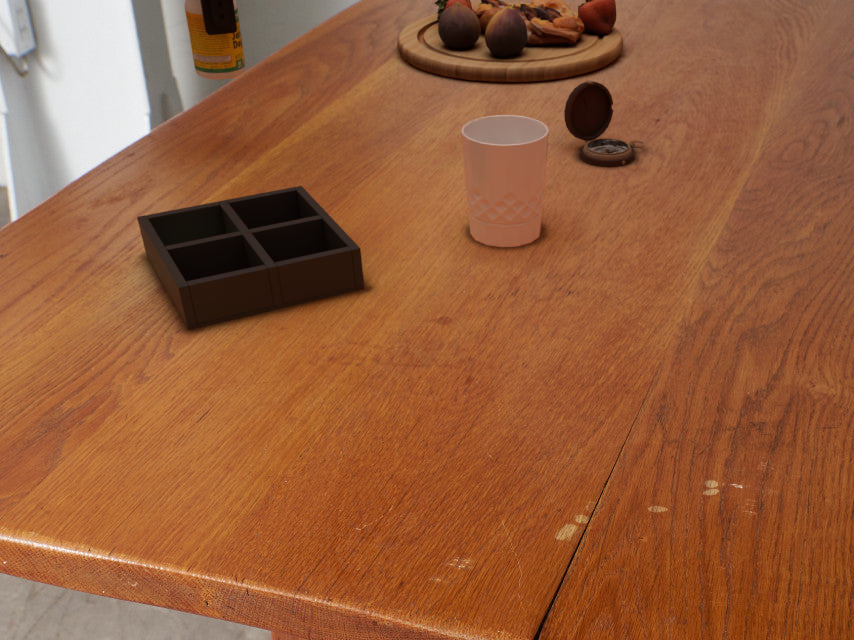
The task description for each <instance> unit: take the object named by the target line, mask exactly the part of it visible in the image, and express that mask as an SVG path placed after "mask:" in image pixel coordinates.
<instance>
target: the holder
mask: <svg viewBox="0 0 854 640" xmlns="http://www.w3.org/2000/svg"><path fill="white" fill-rule="evenodd" d="M136 219H137V223H138V228H139V231H140V235H141V239H142V242H143V247H144V251H145V255H146V258H147V260H148V262H149V264H150V265H151V267H152V269H153V270H154V272H155V274H156V276H157V277H158V279H159V281H160V283H161V285H162V286H163V289H165V290H164V291H166V293H167V295H168V297H169V299H170V301H171V302H172V304H173V306H174V308H175V310H176V311H177V313H178V315H179V317H180V319H181V320H182V322H183V324H184V325H185V327H186V329H187V331H192V330H197V329H201V328H204V327H208V326H209V327H210V326H214V325H217V324H223V323H226V322H230V321H234V320H240V319H243V318H248V317H251V316H255V315H256V316H257V315H260V314H261V315H262V314H264V313H269V312H274V311H277V310H278V311H279V310H281V309H286V308H290V307H296V306H298V305H304V304H307V303H312V302H315V301H316V302H317V301H321V300H324V299H328V298H333V297H337V296H341V295H346V294H351V293H355V292H359V291H363V290H365V281H364V279H365V278H364V270H363V261H362V250H361V247H360V246H359V244H357V243H356V241H354V240H353V239H352V238H351V236H349V234H348V233H347V232H346V231H345V230H344V229H343V228H342V227H341V226H340V225H339V224H338V223H337V221H336V220H334V218H333V217H332V216H330V214H329V213H328V212H327V211H326V210H325V209H324V208H323V207H322V206H321V204H319V202H317V201H316V199H315V198H314V197H312V195H311V194H310V193H309V192H308V191H307V190H306V189H305V188H304V186H303V185H299V186H292V187H288V188H281V189H276V190H271V191H265V192H260V193H256V194H255V193H254V194H250V195H245V196H239V197H234V198H228V199H224V200H218V201H213V202H207V203H204V204H198V205H192V206H186V207H182V208H177V209H172V210H171V209H170V210H165V211H161V212H155V213H150V214H143V215H139V216H137V217H136Z"/></svg>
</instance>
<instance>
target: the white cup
mask: <svg viewBox="0 0 854 640" xmlns="http://www.w3.org/2000/svg"><path fill="white" fill-rule="evenodd" d="M460 132H461V134H460V135H461V145H462V146H461V147H462V160H463V173H464V185H465V186H464V187H465V189H466V190H465V191H466V193H465V195H466V203H467V204H466V205H467V208H468V221H469V233H470V235H471V236H472V238H473V239H474V241H476V242H479V243H481V244H484V245H486V246H489V247H490V246H491V247H497V248H498V247H499V248H511V247H520V246H525V245H527V244H528V245H529V244H530V243H531V244H532V243H533V242H534V241H535V240H537V239H538V238H540V234H541V227H542V214H543V213H542V212H543V211H542V210H543V209H544V200H545V199H544V198H545V193H546V179H547V165H548V149H549V148H548V147H549V135H550V134H549V133H550V129H549V127H548V125H547V124H546V123H545V122H542V121H541V120H538V119H536V118H533V117H529V116H524V115H516V114H495V115H487V116H481V117H478V118H474V119H472V120H469V121H468V122H466V123H464V124H463V126H462V127H461V129H460Z"/></svg>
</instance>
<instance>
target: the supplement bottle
mask: <svg viewBox="0 0 854 640" xmlns="http://www.w3.org/2000/svg"><path fill="white" fill-rule="evenodd" d="M233 3H234V10H235V17H236V24H237V31H236V32H235V33H228V34H219V35H208V34H207V33H206V31H205V26H204V20H203V14H202V7H201V1H200V0H185V2H184V12H185V17H186V24H187V29H188V34H189V42H190V48H191V53H192V59H193V65H194V71H195V73H196V74H197V75H198V76H199V77H202V78H205V79H207V80H228V79H234V78H238V77H240V76H241V75H244V73H245V72H246V61H245V60H246V59H245V53H244V45H243V40H242V39H243V38H242V33H241V23H240V16H239V10H238V4H237V1H236V0H233Z"/></svg>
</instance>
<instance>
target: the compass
mask: <svg viewBox="0 0 854 640" xmlns="http://www.w3.org/2000/svg"><path fill="white" fill-rule="evenodd" d="M613 105H614V100H613V97H612V93H611V92H610V90H609V88H608V87H606V86H605V84H602V83H600V82H597V81H594V80H593V81H591V80H586V81H584V82H582V83H579V84H578V85H577V86H576V87H574V88H573V90H572V91H571V92H570V93H569V95H568V97H567V100H566V103H565V105H564V111H563V113H564V117H563V118H564V123H565V126H566V129H567V130H568V132H569V133H570V134H571V135H572V136H573V137H574V138H575V139H576V138H577V139H579V140H582V141H584V142H585V144H584V145H582V146H581V147H580V148H579V158H580V160H581V161H583V162H585V163H586V164H589V165H591V166H596V167H604V168H605V167H606V168H610V167H612V168H613V167H620V166H625V165H628V164H630V163H631V162H633V161H634V159H635V157H636V151H635V149H640V148H644V147H645V146H646V143H645V142H644V141H640V140H631V141H629V143H628V142H626V141H624V140H621V139H618V138H609V137H604V138H602V137H601V136H602V135H603V134H604V133H605V132H606V131H607V129H608V128H609V126H610V124H611V122H612V119H613V115H614V109H613ZM599 137H601V138H599ZM636 143H639V144H643V145H637V146H636ZM634 148H635V149H634Z"/></svg>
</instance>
